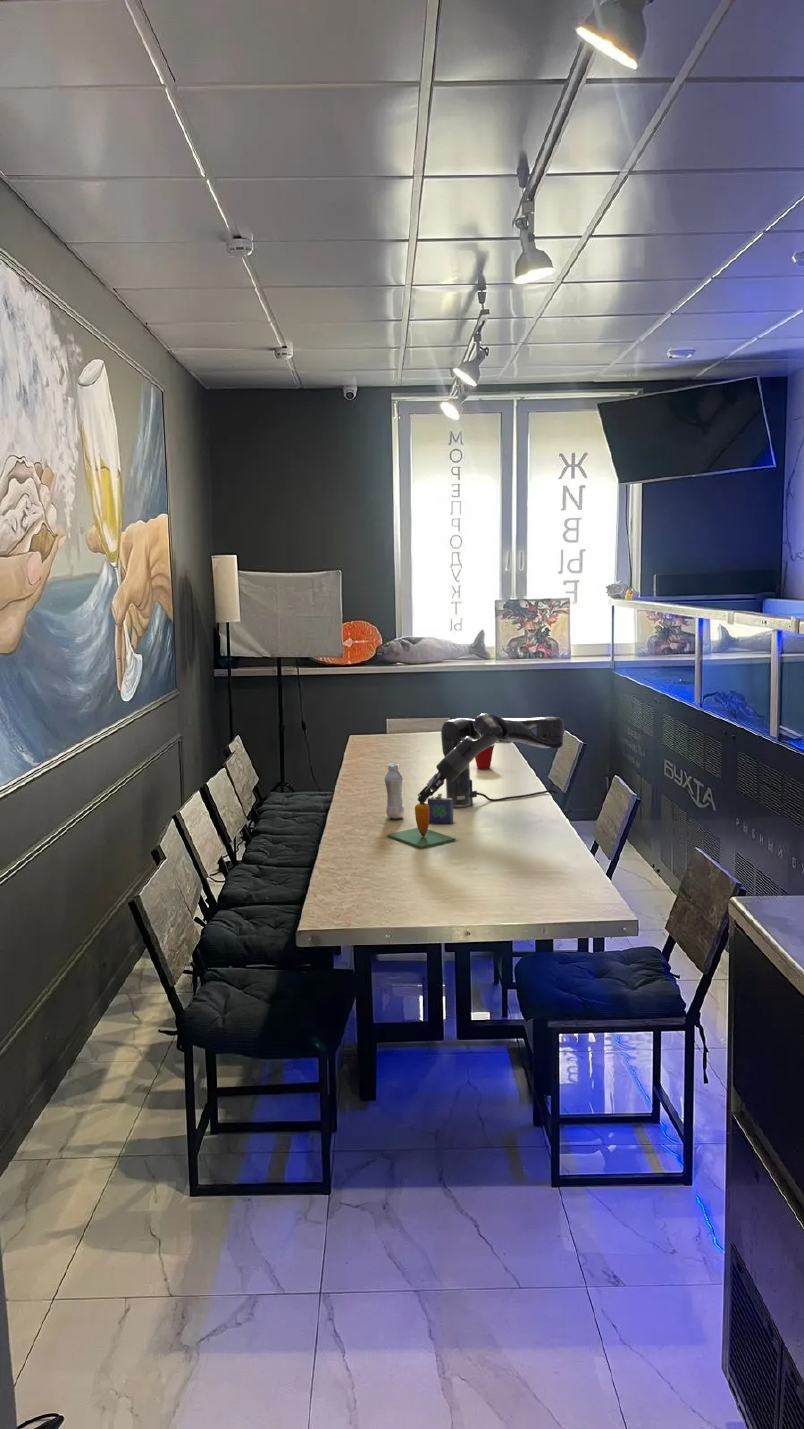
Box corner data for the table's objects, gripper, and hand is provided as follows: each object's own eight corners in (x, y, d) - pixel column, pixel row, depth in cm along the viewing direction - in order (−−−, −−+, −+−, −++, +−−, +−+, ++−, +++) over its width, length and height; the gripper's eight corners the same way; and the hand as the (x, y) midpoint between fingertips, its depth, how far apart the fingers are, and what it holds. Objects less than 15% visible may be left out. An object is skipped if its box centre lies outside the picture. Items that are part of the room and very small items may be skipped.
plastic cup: (497, 770, 430) (496, 743, 428) (472, 771, 430) (472, 744, 428) (495, 765, 440) (494, 739, 439) (471, 766, 441) (470, 740, 439)
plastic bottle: (402, 820, 348) (400, 766, 345) (384, 820, 349) (382, 766, 346) (406, 816, 354) (404, 762, 351) (388, 815, 356) (386, 762, 353)
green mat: (420, 829, 335) (420, 826, 335) (455, 840, 318) (455, 838, 318) (387, 836, 327) (387, 834, 327) (420, 848, 311) (420, 846, 311)
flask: (454, 822, 342) (453, 793, 341) (452, 824, 339) (451, 794, 338) (429, 821, 345) (427, 792, 343) (427, 823, 342) (425, 794, 340)
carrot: (415, 835, 324) (413, 791, 322) (429, 834, 325) (428, 790, 323) (416, 839, 319) (414, 795, 317) (431, 838, 320) (429, 794, 318)
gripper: (461, 776, 311) (427, 811, 313) (462, 767, 325) (430, 801, 327) (444, 760, 310) (410, 795, 313) (446, 752, 324) (413, 786, 327)
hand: (420, 798), depth 320 cm, fingers open, 8 cm apart
